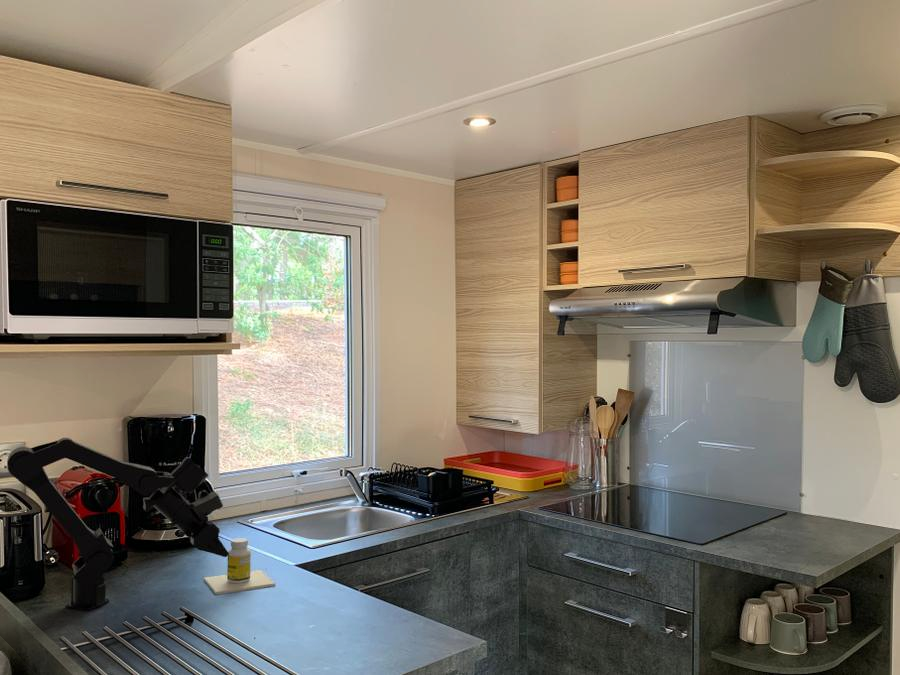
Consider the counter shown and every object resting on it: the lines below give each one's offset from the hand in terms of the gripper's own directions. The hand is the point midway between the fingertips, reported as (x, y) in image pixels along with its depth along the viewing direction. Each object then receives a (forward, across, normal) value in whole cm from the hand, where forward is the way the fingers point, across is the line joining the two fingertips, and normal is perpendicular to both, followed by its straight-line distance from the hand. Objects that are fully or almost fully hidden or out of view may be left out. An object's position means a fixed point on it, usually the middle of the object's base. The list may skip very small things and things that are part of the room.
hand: (222, 550), depth 182 cm
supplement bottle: (+8, 0, +3) cm, 9 cm away
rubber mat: (+9, 0, +3) cm, 9 cm away
